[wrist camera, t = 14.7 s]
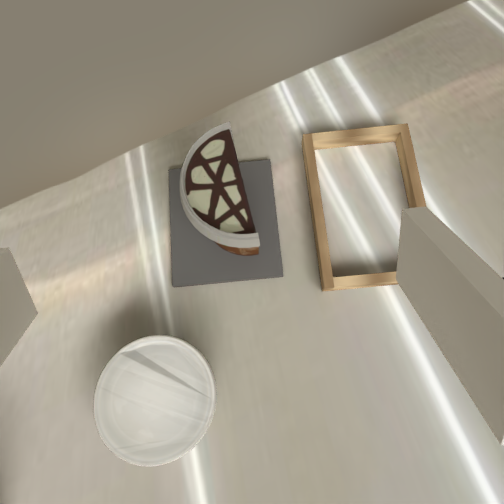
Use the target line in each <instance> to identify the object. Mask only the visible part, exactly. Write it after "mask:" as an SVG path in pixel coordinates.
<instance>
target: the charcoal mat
mask: <svg viewBox="0 0 504 504" xmlns="http://www.w3.org/2000/svg"><path fill="white" fill-rule="evenodd" d="M238 164H239V168H240V171H241V176H242V179H243V183H244V188H245V192H246V195H247V199H248V203H249V207H250V211H251V215H252V217H253V223H254V225H255V230H256V233H258V235H259V240H260V246H259V254H258V255H253V256H242V255H236V254H233V253H230V252H228V251H225V250H224V249H222V248H221V247H219V246H218V245H217V244H216V243H215V242H214V241H213V240H211V239H209V238H207V237H206V236H205V235H203V234H202V233H200V232H199V231H198V230H197V229H196V228H195V227H194V226H193V224H192V223H191V222H190V220H189V219H188V217H187V215H186V213H185V211H184V209H183V206H182V203H181V198H180V173H181V169H182V168H180V169H171V170H169V196H170V225H171V255H172V285H173V287H183V286H193V285H203V284H214V283H224V282H235V281H245V280H255V279H266V278H276V277H283V269H282V260H281V251H280V243H279V234H278V225H277V216H276V207H275V198H274V189H273V180H272V171H271V163H270V159H269V160H259V161H249V162H239V163H238Z"/></svg>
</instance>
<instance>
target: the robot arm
mask: <svg viewBox="0 0 504 504" xmlns="http://www.w3.org/2000/svg"><path fill="white" fill-rule="evenodd" d="M396 280H397V282H398V284H399V285H400V287H401V288H402V290H403V291H404V293H405V295H406V296H407V298H408V299H409V301H410V302H411V304H412V306H413V307H414V309H415V310H416V312H417V314H418V315H419V317H420V318H421V320H422V321H423V323H424V325H425V326H426V328H427V329H428V331H429V332H430V334H431V336H432V337H433V339H434V340H435V342H436V343H437V345H438V347H439V348H440V350H441V351H442V353H443V355H444V356H445V358H446V359H447V361H448V362H449V364H450V366H451V367H452V369H453V370H454V372H455V373H456V375H457V377H458V378H459V380H460V381H461V383H462V385H463V386H464V388H465V389H466V391H467V392H468V394H469V396H470V397H471V399H472V400H473V402H474V403H475V405H476V407H477V408H478V410H479V411H480V413H481V414H482V416H483V418H484V419H485V421H486V422H487V424H488V426H489V427H490V429H491V430H492V432H493V433H494V435H495V437H496V438H497V440H498V441H499V443H500V444H501V445H504V278H502V277H500V276H499V275H498V274H497V273H496V272H495V271H494V270H493V269H492V268H491V267H490V266H489V265H488V264H487V263H486V262H484V261H483V260H482V259H481V258H480V257H479V256H478V255H477V254H476V253H475V252H474V251H473V250H472V249H471V248H470V247H468V246H467V245H466V244H465V243H464V242H463V241H462V240H461V239H460V238H459V237H458V236H457V235H456V234H455V233H454V232H452V231H451V230H450V229H449V228H448V227H447V226H446V225H445V224H444V223H443V222H442V221H441V220H440V219H439V218H438V217H436V216H435V215H434V214H433V213H432V212H431V211H430V210H429V209H428V208H427V207H426V206H425V207H415V208H405V209H402V217H401V228H400V239H399V249H398V260H397V271H396ZM37 314H38V312H37V310H36V308H35V305H34V303H33V301H32V298H31V296H30V294H29V292H28V289H27V287H26V285H25V283H24V280H23V278H22V276H21V274H20V271H19V269H18V267H17V265H16V262H15V260H14V258H13V255H12V253H11V251H10V249H9V248H0V366H1V365H2V363H3V362H4V361H5V359H6V358H7V356H8V355H9V354H10V352H11V351H12V349H13V348H14V347H15V345H16V344H17V342H18V341H19V339H20V338H21V337H22V335H23V334H24V332H25V331H26V330H27V328H28V327H29V325H30V324H31V323H32V321H33V320H34V318H35V317H36V315H37Z"/></svg>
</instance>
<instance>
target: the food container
mask: <svg viewBox="0 0 504 504" xmlns="http://www.w3.org/2000/svg"><path fill="white" fill-rule="evenodd" d="M180 198H181V203H182V206H183V209H184V211H185V213H186V215H187V217H188V219H189V220H190V222H191V223H192V224H193V226H194V227H195V228H196V229H197V230H198V231H199V232H200V233H202V234H203V235H205V236H206V237H207V238H209V239H211V240H213V241H214V242H215V243H216V244H217V245H218V246H219V247H221V248H222V249H224V250H225V251H228V252H230V253H233V254H236V255H242V256H253V255H258V254H259V246H260V240H259V235H258V233H256V230H255V225H254V223H253V217H252V215H251V211H250V207H249V203H248V199H247V195H246V192H245V188H244V183H243V179H242V176H241V171H240V168H239V164H238V159H237V155H236V151H235V147H234V142H233V136H232V131H231V125H230V122H227V123H223V124H221V125H218V126H216V127H214V128H212V129H211V130H209V131H208V132H206V133H205V134H203V135H202V136H201V137H200V138H199V139H198V140H197V141H196V142H195V143H194V145H193V146H192V147H191V149H190V150H189V152H188V154H187V156H186V158H185V160H184V162H183V165H182V169H181V173H180Z"/></svg>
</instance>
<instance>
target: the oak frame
mask: <svg viewBox="0 0 504 504" xmlns="http://www.w3.org/2000/svg"><path fill="white" fill-rule="evenodd" d="M386 142H396V147H397V152H398V157H399V161H400V166H401V171H402V175H403V180H404V185H405V190H406V194H407V199H408V204H409V208H415V207H425V206H426V203H425V198H424V194H423V190H422V185H421V181H420V176H419V172H418V167H417V163H416V159H415V154H414V150H413V145H412V141H411V136H410V132H409V127H408V124H398V125H388V126H379V127H369V128H359V129H349V130H340V131H330V132H320V133H310V134H303V138H302V149H303V156H304V164H305V171H306V178H307V185H308V192H309V200H310V207H311V214H312V221H313V228H314V236H315V243H316V250H317V257H318V265H319V272H320V279H321V286H322V291H332V290H342V289H353V288H363V287H374V286H384V285H395V284H398V282H397V280H396V271H395V272H385V273H374V274H364V275H354V276H343V277H333V274H332V268H331V261H330V254H329V247H328V240H327V234H326V227H325V220H324V213H323V207H322V200H321V193H320V186H319V180H318V173H317V166H316V159H315V152H314V150H317V149H327V148H337V147H346V146H356V145H366V144H376V143H386Z"/></svg>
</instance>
